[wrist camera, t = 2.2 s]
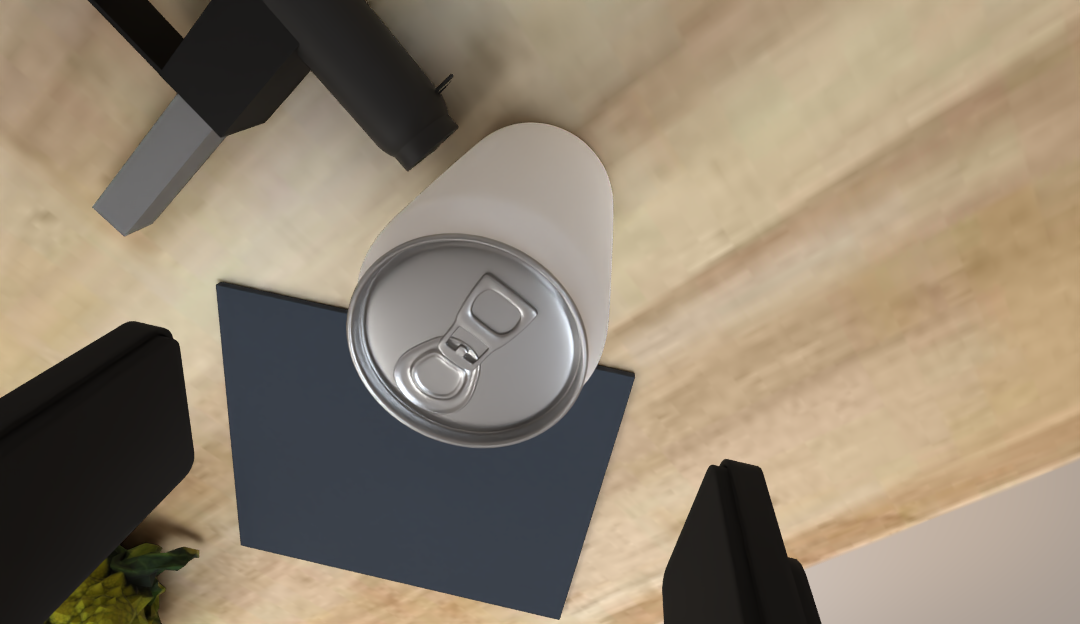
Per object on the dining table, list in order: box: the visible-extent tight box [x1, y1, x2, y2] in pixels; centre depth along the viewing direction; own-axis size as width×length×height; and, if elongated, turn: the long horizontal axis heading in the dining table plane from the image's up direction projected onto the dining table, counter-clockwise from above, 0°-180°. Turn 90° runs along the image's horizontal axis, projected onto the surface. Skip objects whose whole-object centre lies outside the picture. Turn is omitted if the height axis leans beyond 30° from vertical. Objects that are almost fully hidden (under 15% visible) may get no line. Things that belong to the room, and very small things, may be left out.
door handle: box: [88, 0, 458, 237], centre depth 21 cm, size 3×20×16 cm
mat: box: [216, 282, 635, 620], centre depth 31 cm, size 20×18×1 cm
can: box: [346, 123, 613, 448], centre depth 18 cm, size 6×6×12 cm
